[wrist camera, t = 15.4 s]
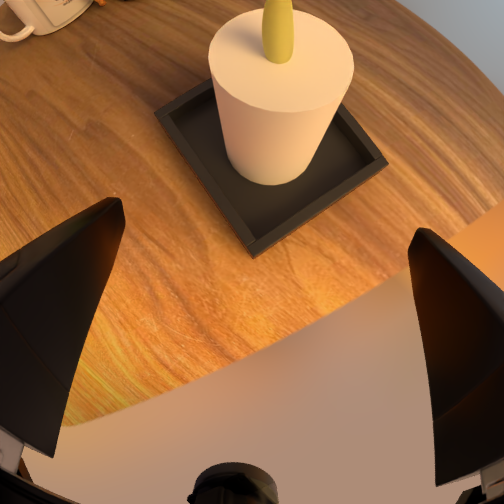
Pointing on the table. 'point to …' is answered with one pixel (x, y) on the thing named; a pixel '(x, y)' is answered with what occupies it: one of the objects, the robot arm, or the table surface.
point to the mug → (44, 15)
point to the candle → (277, 88)
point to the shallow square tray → (268, 196)
